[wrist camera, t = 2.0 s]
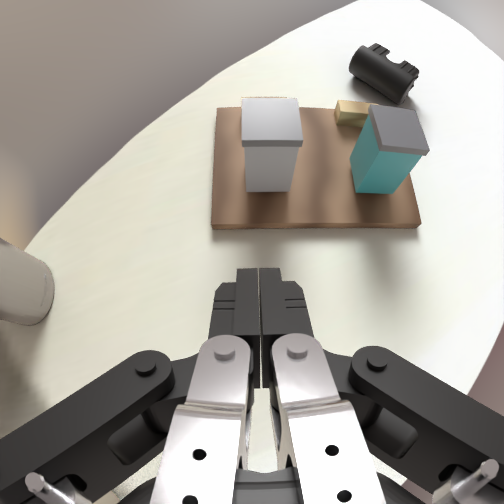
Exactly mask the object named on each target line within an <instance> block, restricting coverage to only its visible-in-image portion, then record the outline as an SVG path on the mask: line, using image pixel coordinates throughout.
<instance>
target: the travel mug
mask: <svg viewBox="0 0 504 504" xmlns="http://www.w3.org/2000/svg"><path fill="white" fill-rule="evenodd" d="M119 501H120V500H119V498H118V497H117V496H116V495H115V494H114V493H113V492H112V491H110V492H108V493H107V494H106V495H104V496H103V497H101V498H100V499H98V500H97V501H96V502H94V503H93V504H117V503H118V502H119Z"/></svg>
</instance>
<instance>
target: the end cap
mask: <svg viewBox="0 0 504 504" xmlns="http://www.w3.org/2000/svg"><path fill="white" fill-rule="evenodd" d="M389 52H390V51H389V50H388V49H386V48H384V47H382V46H381V45H379V44H377V43H375V44H373V45H372V46H370V47H369V48H367V47H365V46H363V45H362V46H361V47H360V48H359V49H358V50H357V51H356V52H355V54H354V55H353V57H352V59H351V62H350V65H349V71H350V73H352V74H353V75H354V76H356V77H357V78H359V79H360V80H362V81H364V82H365V83H367V84H368V85H370V86H371V87H373V88H374V89H376V90H377V91H379V92H380V93H382V94H383V95H385V96H386V97H388V98H389V99H391V100H392V101H393V102H395V103H396V104H399V105H400V104H402V103H403V102H404V100H405V98H406V96H407V95H408V92H409V91H410V90H411V88H412V87H413V86H414V85H413V84H414V81H415V80H416V79H417V78H418V74H419V70H418V69H417V68H416V67H415V66H413V65H411V64H410V63H408V62H407V61H405V60H404V61H403V62H402V63H400V64H397V63H393V62H391V61H390V60H388V59H387V57H386V55H387V54H389Z"/></svg>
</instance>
